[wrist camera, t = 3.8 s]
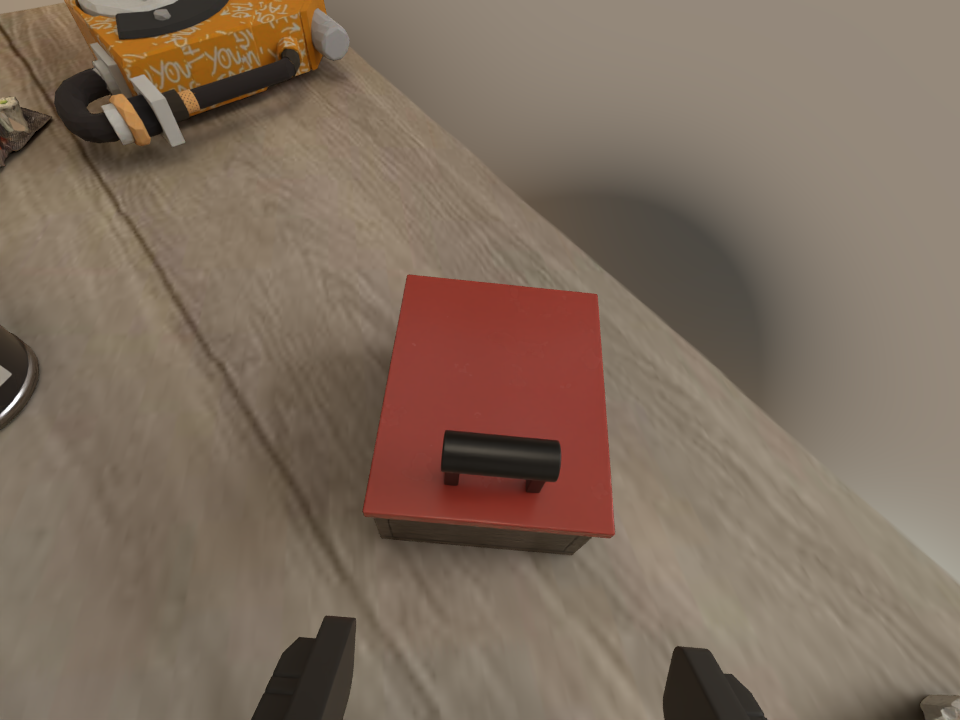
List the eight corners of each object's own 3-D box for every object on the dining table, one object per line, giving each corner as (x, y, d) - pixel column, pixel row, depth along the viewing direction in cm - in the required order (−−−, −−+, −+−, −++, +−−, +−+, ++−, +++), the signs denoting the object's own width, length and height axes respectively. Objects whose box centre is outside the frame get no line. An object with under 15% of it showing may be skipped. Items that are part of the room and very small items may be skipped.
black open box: (573, 555, 32) (609, 522, 25) (380, 538, 32) (366, 501, 25) (567, 365, 40) (594, 302, 33) (411, 349, 39) (407, 282, 33)
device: (383, 5, 50) (54, 103, 38) (389, 87, 57) (111, 192, 45) (266, -79, 58) (-38, -19, 46) (283, 3, 65) (23, 73, 53)
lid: (610, 538, 25) (649, 508, 21) (363, 517, 25) (349, 481, 20) (594, 301, 33) (619, 242, 28) (407, 282, 32) (403, 219, 28)
